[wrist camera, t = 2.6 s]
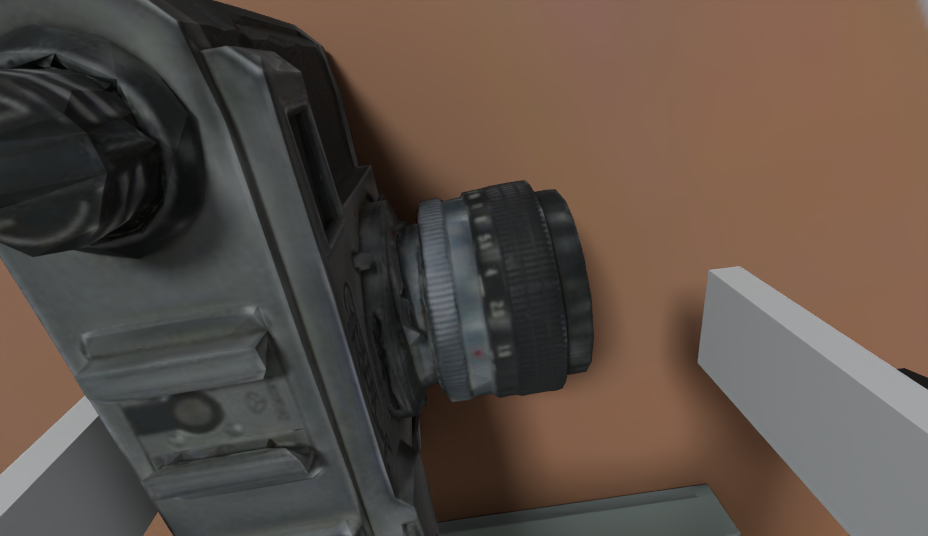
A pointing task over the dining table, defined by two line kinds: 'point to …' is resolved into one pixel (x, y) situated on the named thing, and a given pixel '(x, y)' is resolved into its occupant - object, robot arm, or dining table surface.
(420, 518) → the camera
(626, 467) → the dining table surface
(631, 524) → the storage tray
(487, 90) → the dining table surface
